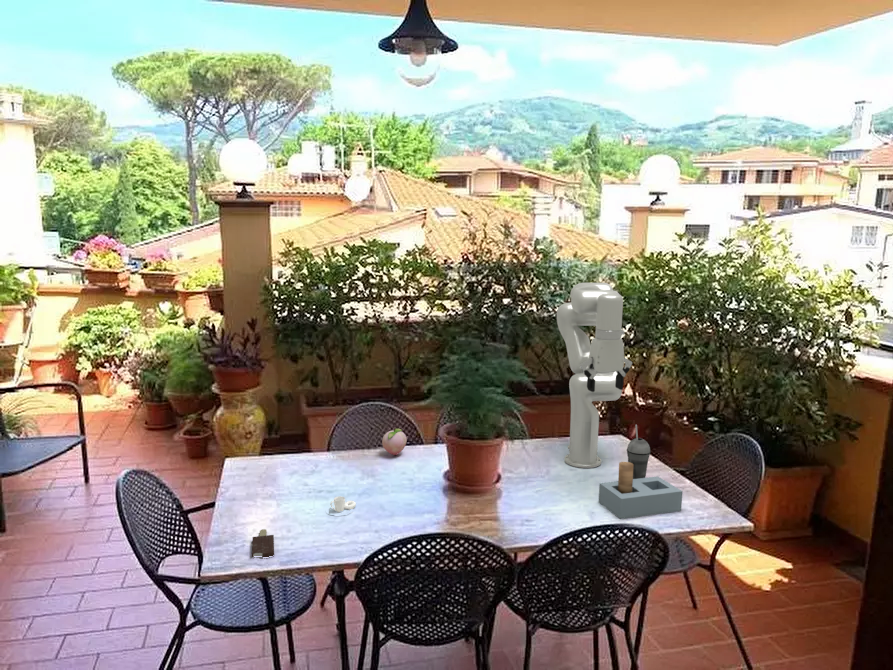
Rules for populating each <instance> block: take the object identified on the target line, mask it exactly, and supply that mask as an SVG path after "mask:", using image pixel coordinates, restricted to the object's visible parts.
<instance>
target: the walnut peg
mask: <svg viewBox="0 0 893 670" xmlns="http://www.w3.org/2000/svg"><path fill="white" fill-rule="evenodd" d="M617 481H618V491H619V492H620V493H622V494H625V493H632V485H633V464H632V463H630V462H628V461H620V462H619V463H618V480H617Z"/></svg>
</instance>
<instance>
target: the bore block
mask: <svg viewBox="0 0 893 670" xmlns="http://www.w3.org/2000/svg"><path fill="white" fill-rule="evenodd" d="M598 489H599V490H598V503H599V504H600V505H601V506H602V507H604V508H606V509H607V510H608V511H609V512H610V513H612V514H613V515H615V516H616V518H618V519H620V520H625V519H630V518H638V517H639V518H640V517H644V516H653V515H661V514H667V513H669V514H670V513H675V512H681V511H682V504H683V492H684V491H683V490H681V489H680V488H678V487H676V486H675V485H673V484H672V483H670V482H668V481H666V480H665V479H663V478H661V477H660V476H658V475H657V476H648V477H645V478H639V479H633V485H632V493H625V494H622V493H620V492H619V491H618V480H616V481H605V482H599V488H598Z"/></svg>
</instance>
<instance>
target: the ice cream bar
mask: <svg viewBox="0 0 893 670" xmlns="http://www.w3.org/2000/svg"><path fill="white" fill-rule="evenodd" d="M274 536H275V535H274V534H269V535H268V534H267V529H265V528H263V529H260V530H259V535H258V536H252V541H251V542H252V543H251V544H252V545H251V558H252V557H254V556H262V557H269V556H273V555H274V556H275V537H274ZM274 556H273V557H274Z"/></svg>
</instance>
